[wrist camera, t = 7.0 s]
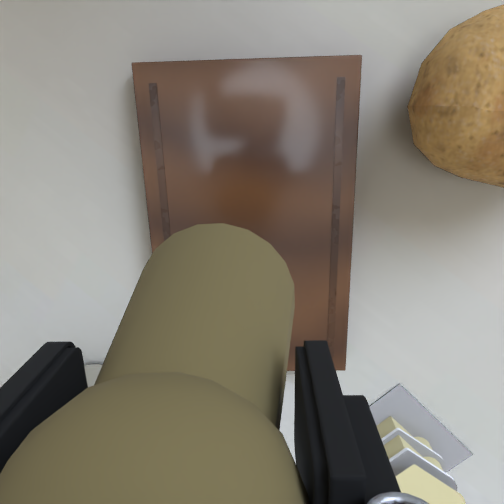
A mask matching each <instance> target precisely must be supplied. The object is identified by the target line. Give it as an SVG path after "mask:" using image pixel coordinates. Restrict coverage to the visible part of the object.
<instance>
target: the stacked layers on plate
mask: <svg viewBox="0 0 504 504" xmlns="http://www.w3.org/2000/svg"><path fill="white" fill-rule="evenodd" d="M370 410H371V413H372V415H373V418H374V421H375V423H376V426H377V429H378V432H379V434H380V437H381V440H382V442H383V445H384V448H385V450H386V453H387V456H388V458H389V461H390V464H391V466H392V469H393V472H394V474H395V477H396V480H397V482H398V485H399V488H400V490H401V493H408V494H410V495H413V496H416V497H418V498H421V499H423V500H424V501H426V502H428V503H429V504H465V500H464V498H463V496H462V495H461V494H460V493H458V492H457V485H456V483H455V481H454V479H453V478H452V477H451V476H450V475H449V474H447V473H446V472H447V471H449V470H450V469H452V468H453V467H455V466H457V465H458V464H460V463H461V462H463V461H464V460H466V459H467V458H469V457H470V456H472V455H473V454H472V453H471V452H470V451H469V450H468V449H467V448H466V447H465V446H464V445H463V444H462V443H461V442H460V441H459V440H458V439H456V438H455V437H454V436H453V435H452V434H451V433H450V432H449V431H448V430H447V429H446V428H445V427H444V426H443V425H442V424H441V423H440V422H439V421H438V420H437V419H436V418H435V417H434V416H432V415H431V414H430V413H429V412H428V411H427V410H426V409H425V408H424V407H423V406H422V405H421V404H420V403H419V402H418V401H417V400H416V399H415V398H414V397H413V396H412V395H411V394H410V393H408V392H407V391H406V390H405V389H404V388H403V387H402V386H401V385H400V384H399V385H398V386H396V387H395V388H394V389H392V390H391V391H390V392H388V393H387V394H386V395H384V396H383V397H382V398H380V399H379V400H378V401H376V402H375V403H374V404H372V405H371V406H370Z"/></svg>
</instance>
